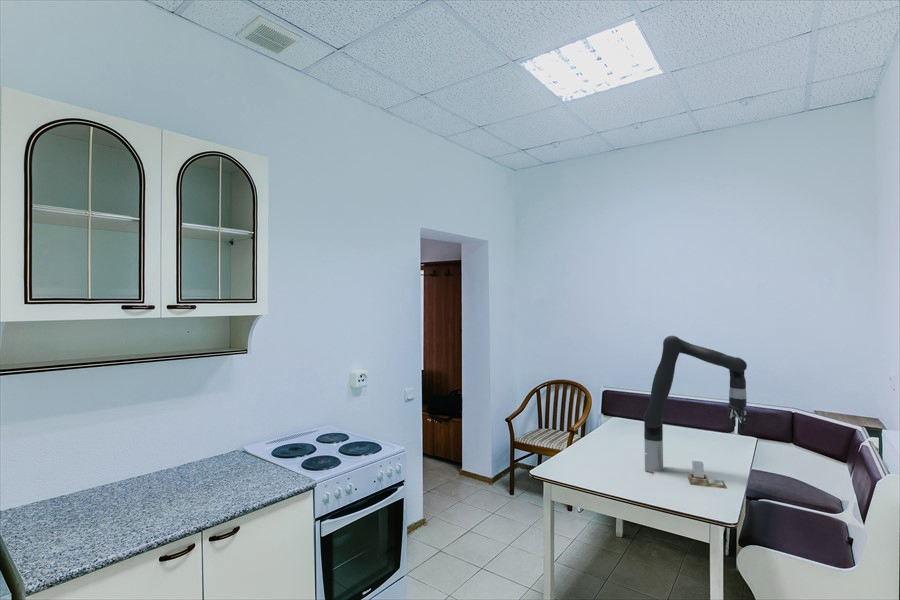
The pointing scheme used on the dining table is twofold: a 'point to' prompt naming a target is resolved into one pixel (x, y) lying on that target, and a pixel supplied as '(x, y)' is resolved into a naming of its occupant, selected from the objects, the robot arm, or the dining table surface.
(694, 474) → the block
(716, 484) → the brown compartment tray
